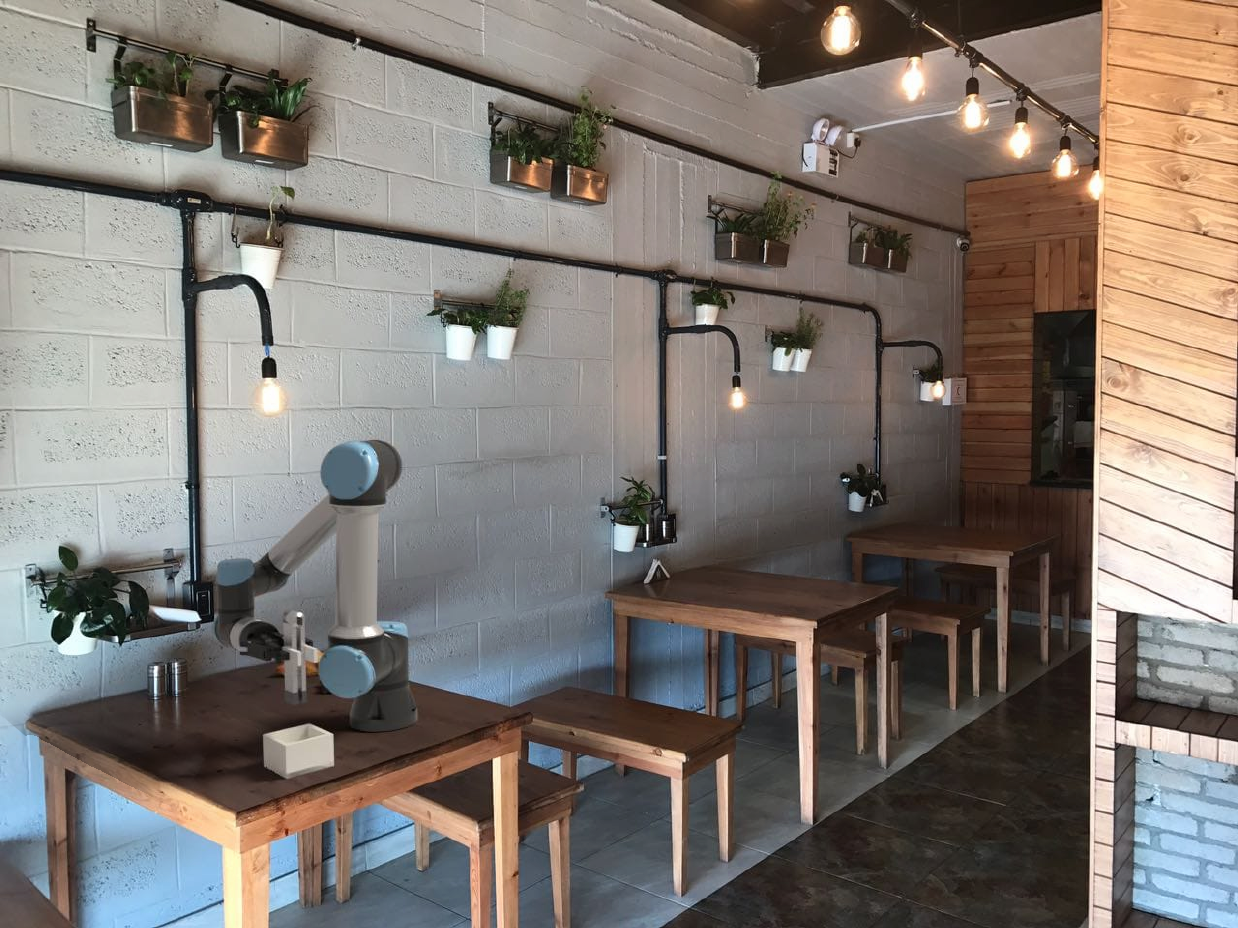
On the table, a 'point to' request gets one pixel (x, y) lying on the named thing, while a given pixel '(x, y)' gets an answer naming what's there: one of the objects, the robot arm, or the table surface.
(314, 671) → the croissant
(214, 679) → the table surface
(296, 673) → the tongs
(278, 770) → the caddy
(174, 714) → the table surface
